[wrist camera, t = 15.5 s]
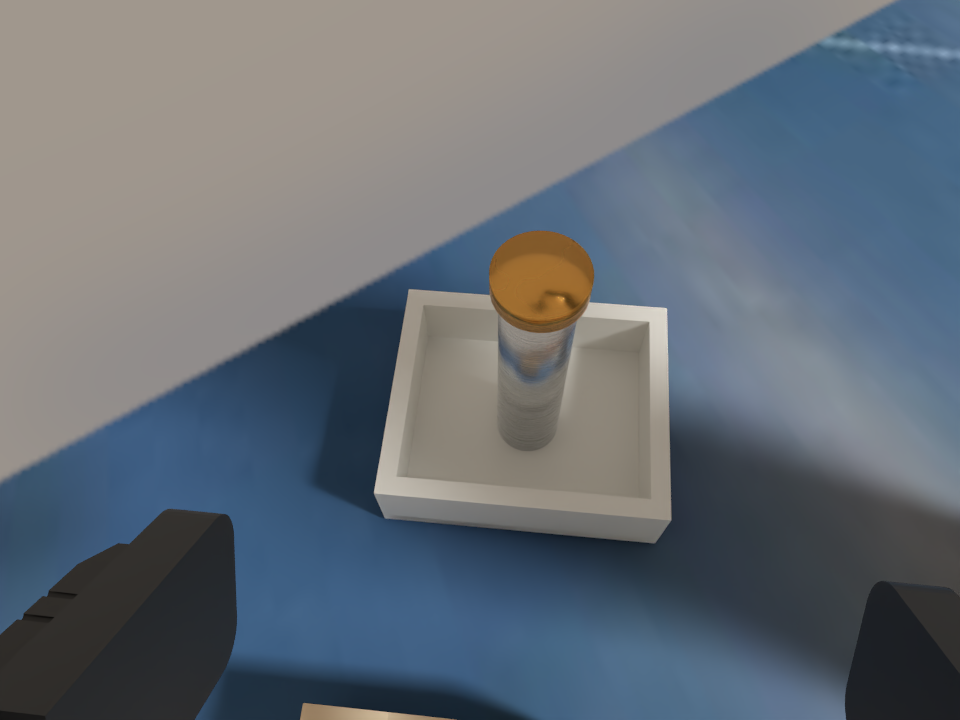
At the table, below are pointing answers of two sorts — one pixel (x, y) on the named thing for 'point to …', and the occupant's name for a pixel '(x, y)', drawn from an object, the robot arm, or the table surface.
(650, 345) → the tray
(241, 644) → the table surface
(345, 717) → the block
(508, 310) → the lock pin
